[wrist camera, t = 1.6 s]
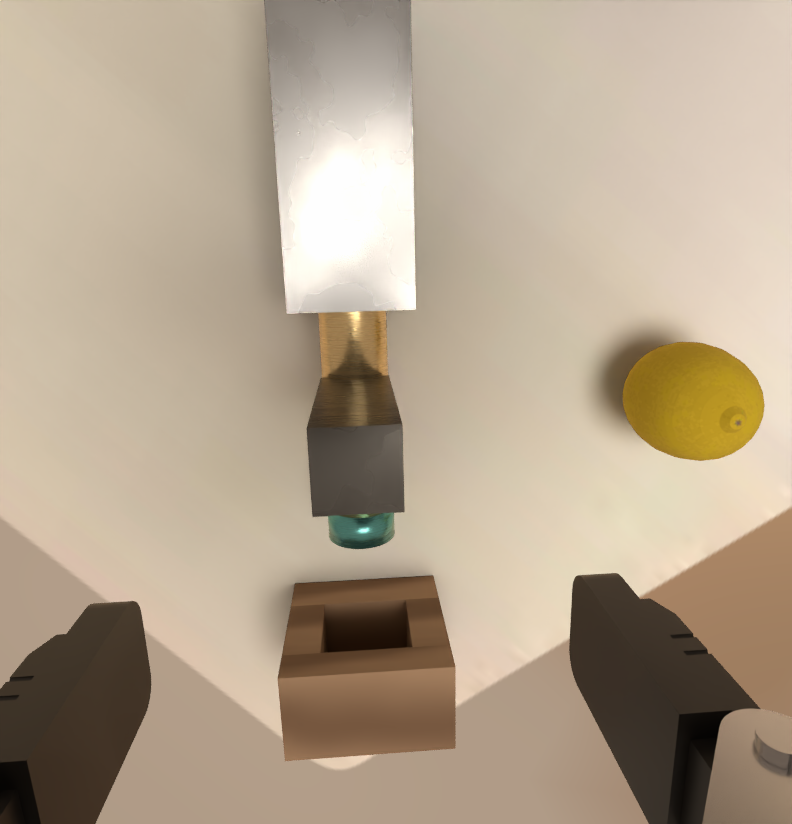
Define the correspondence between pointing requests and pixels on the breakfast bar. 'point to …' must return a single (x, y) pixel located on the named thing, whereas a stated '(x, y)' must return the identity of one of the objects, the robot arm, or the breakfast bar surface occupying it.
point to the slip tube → (355, 432)
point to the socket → (366, 670)
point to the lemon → (693, 401)
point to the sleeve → (344, 152)
